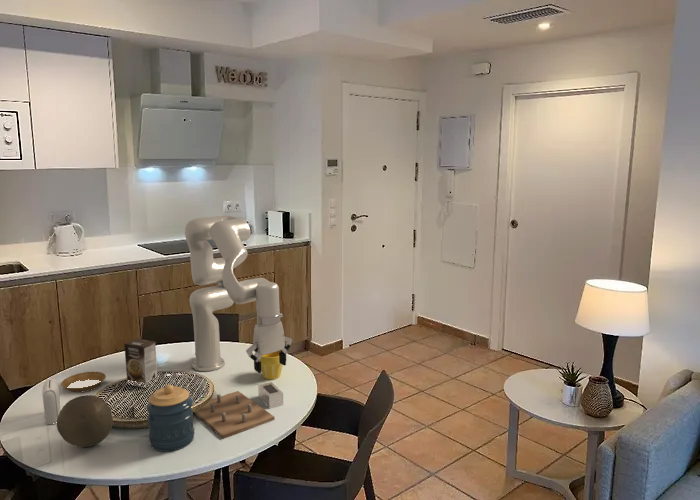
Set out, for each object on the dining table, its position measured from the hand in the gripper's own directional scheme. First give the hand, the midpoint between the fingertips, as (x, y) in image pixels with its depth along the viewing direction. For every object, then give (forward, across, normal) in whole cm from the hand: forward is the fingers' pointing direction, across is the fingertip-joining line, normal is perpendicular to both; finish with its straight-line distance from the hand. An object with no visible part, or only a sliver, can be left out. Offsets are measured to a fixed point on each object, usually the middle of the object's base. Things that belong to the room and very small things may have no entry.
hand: (270, 367), depth 183 cm
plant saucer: (+11, +46, -55) cm, 73 cm away
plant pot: (+12, -11, -18) cm, 24 cm away
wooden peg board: (+12, +15, -1) cm, 19 cm away
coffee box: (+11, +29, -43) cm, 53 cm away
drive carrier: (+12, 0, -1) cm, 12 cm away
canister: (+12, +36, +2) cm, 38 cm away
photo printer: (+12, +60, -36) cm, 71 cm away
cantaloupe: (+12, +56, -11) cm, 58 cm away
